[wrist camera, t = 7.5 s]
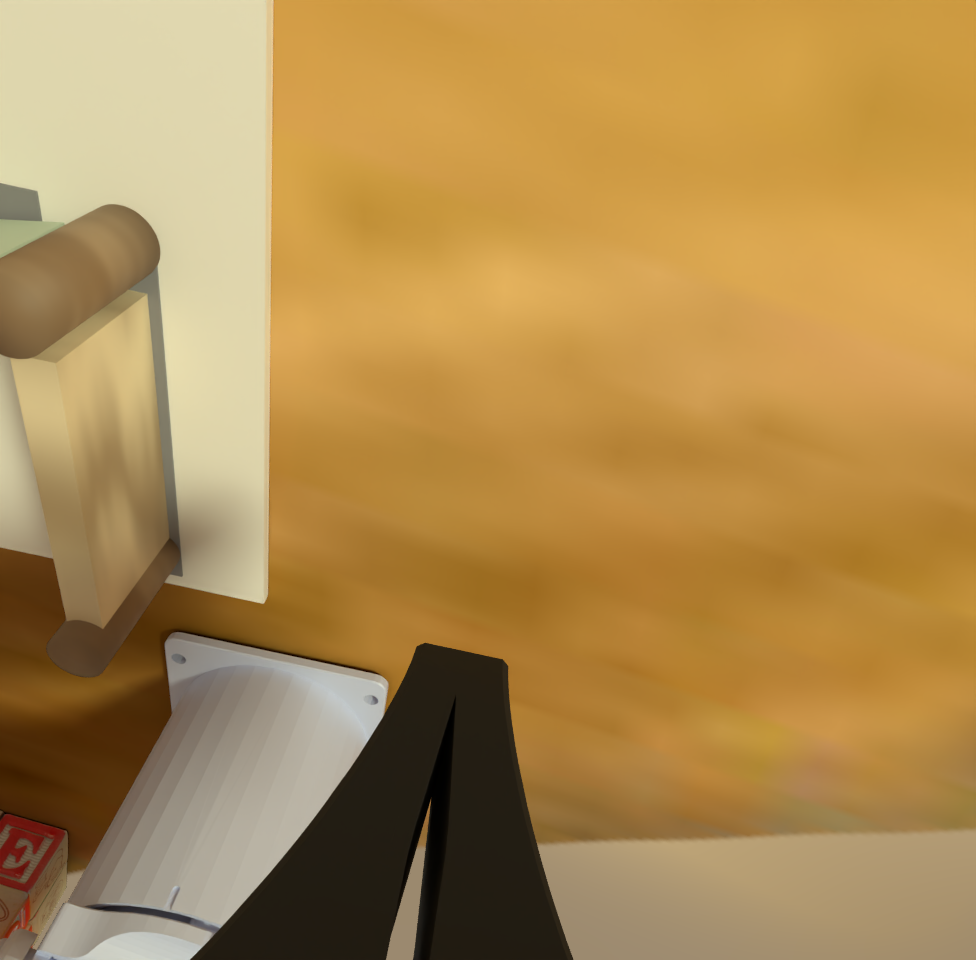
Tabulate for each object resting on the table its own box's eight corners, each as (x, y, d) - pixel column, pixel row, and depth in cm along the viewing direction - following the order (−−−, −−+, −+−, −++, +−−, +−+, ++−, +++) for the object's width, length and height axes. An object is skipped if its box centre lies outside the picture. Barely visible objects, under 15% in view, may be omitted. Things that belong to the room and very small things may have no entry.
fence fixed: (185, 571, 25) (111, 683, 21) (131, 560, 25) (47, 669, 21) (157, 213, 18) (40, 282, 14) (82, 196, 18) (-54, 261, 14)
